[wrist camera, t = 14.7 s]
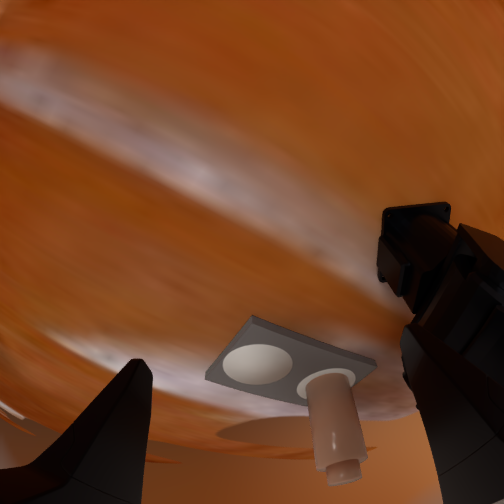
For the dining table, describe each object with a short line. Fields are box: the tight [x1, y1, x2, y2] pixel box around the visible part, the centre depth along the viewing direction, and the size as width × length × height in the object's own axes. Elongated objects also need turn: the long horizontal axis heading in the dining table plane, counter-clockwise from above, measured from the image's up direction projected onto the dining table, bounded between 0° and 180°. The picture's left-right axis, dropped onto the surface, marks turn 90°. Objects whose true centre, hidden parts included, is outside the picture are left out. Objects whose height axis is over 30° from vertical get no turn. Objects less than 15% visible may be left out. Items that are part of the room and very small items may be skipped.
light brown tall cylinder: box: [305, 373, 368, 486], centre depth 23 cm, size 5×5×12 cm
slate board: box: [205, 315, 377, 407], centre depth 27 cm, size 16×10×1 cm, turn 60°
